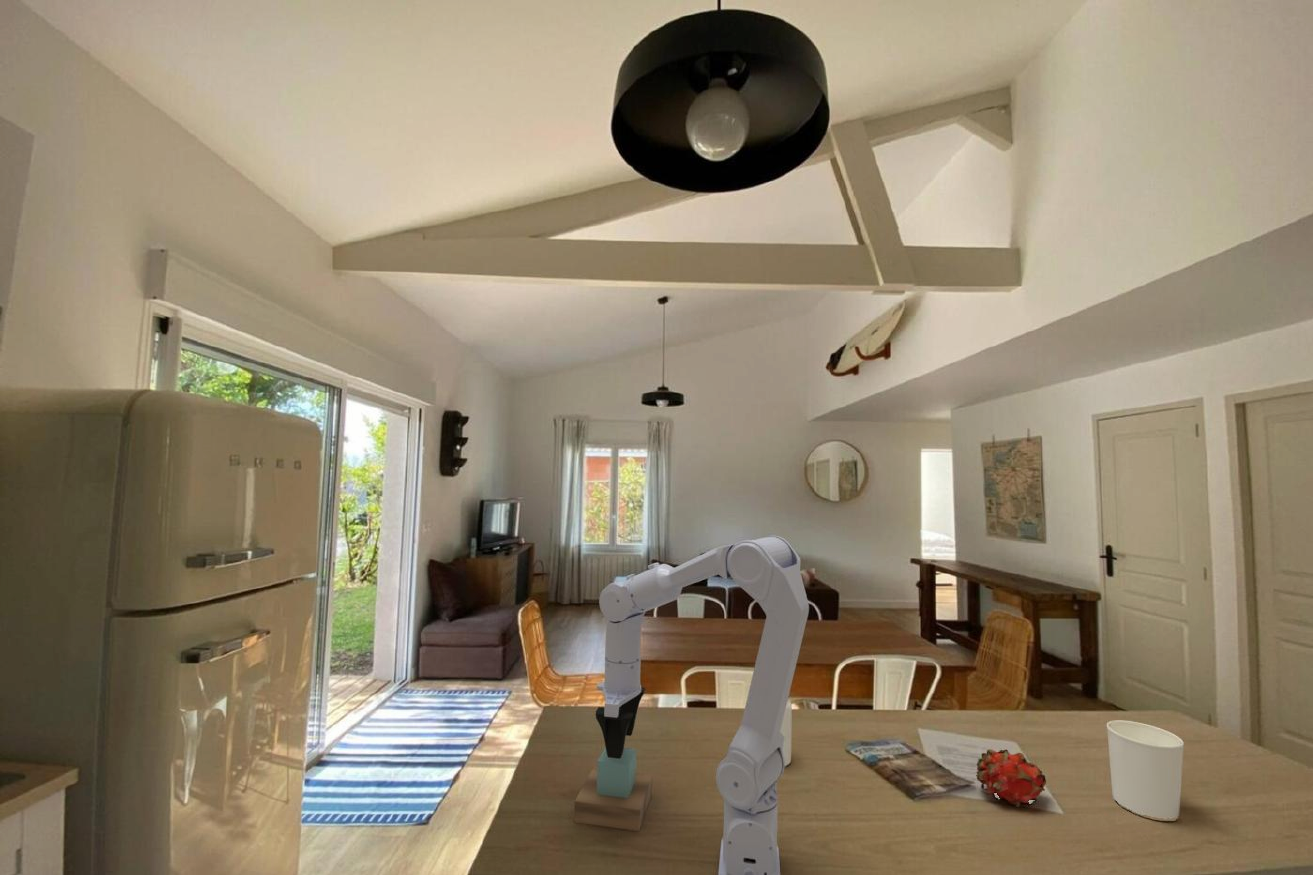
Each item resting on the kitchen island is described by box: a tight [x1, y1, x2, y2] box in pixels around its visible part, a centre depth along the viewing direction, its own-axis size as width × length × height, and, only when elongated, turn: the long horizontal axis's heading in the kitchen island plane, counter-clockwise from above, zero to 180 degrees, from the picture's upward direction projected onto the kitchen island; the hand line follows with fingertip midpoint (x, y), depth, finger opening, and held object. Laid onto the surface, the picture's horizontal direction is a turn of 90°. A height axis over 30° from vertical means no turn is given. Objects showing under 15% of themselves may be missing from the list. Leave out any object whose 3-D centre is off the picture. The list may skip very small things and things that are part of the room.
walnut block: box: [573, 767, 653, 832], centre depth 91 cm, size 10×10×4 cm
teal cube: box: [596, 747, 637, 798], centre depth 91 cm, size 5×5×5 cm
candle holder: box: [1106, 719, 1185, 819], centre depth 96 cm, size 10×10×12 cm
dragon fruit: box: [975, 748, 1047, 808], centre depth 97 cm, size 8×8×12 cm
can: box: [780, 694, 793, 767], centre depth 108 cm, size 6×6×12 cm
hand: (620, 745), depth 92 cm, fingers open, 7 cm apart
